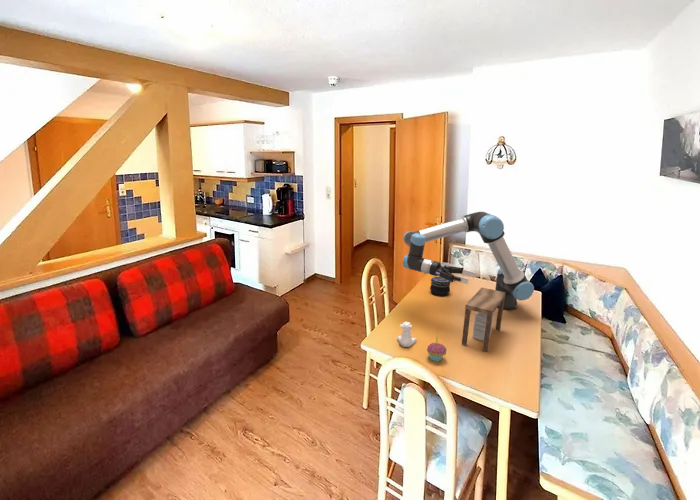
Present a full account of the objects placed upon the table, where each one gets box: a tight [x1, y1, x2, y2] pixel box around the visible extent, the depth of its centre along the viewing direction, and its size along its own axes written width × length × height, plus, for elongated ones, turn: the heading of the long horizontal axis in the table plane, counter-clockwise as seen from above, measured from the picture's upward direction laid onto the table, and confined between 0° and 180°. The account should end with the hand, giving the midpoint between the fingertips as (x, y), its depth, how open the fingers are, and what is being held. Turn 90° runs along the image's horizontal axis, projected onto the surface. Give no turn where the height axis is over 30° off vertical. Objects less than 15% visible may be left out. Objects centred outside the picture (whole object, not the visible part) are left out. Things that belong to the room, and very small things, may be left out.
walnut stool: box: [461, 287, 505, 353], centre depth 189 cm, size 12×28×21 cm, turn 147°
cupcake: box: [426, 333, 447, 362], centre depth 170 cm, size 9×8×12 cm
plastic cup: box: [440, 262, 456, 274], centre depth 271 cm, size 11×11×12 cm
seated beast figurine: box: [396, 321, 418, 348], centre depth 182 cm, size 10×9×12 cm
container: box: [429, 276, 452, 297], centre depth 247 cm, size 13×13×10 cm
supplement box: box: [472, 311, 494, 342], centre depth 190 cm, size 7×7×13 cm
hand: (471, 278), depth 190 cm, fingers open, 13 cm apart
